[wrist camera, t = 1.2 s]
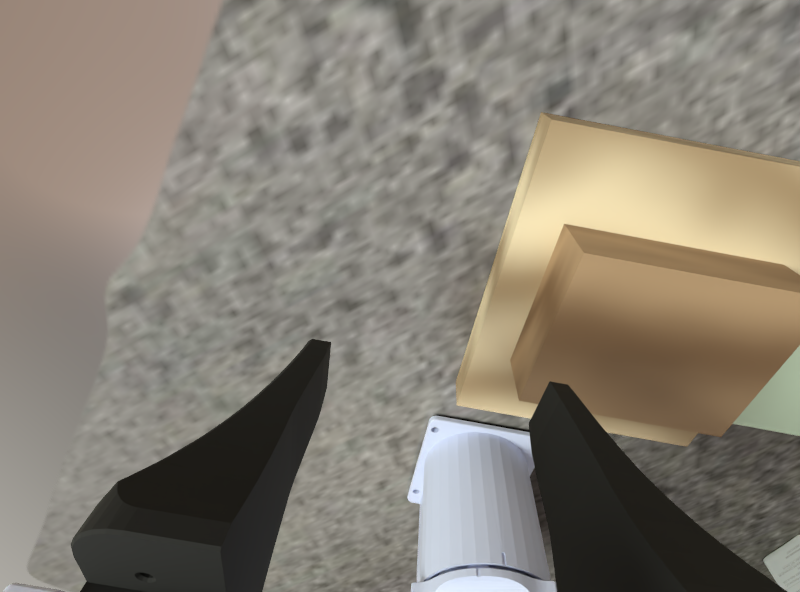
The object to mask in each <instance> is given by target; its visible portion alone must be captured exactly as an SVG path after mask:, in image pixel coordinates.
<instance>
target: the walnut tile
mask: <svg viewBox="0 0 800 592" xmlns="http://www.w3.org/2000/svg"><path fill="white" fill-rule="evenodd" d="M799 345H800V275H799V274H797V273H796V272H794V271H793V270H791V269H790V268H788V267H787V266H785V265H783V264H778V263H772V262H767V261H762V260H756V259H751V258H745V257H740V256H735V255H729V254H724V253H719V252H713V251H708V250H703V249H697V248H692V247H687V246H681V245H676V244H670V243H665V242H660V241H654V240H649V239H644V238H638V237H633V236H628V235H622V234H617V233H611V232H606V231H601V230H595V229H590V228H585V227H579V226H574V225H569V224H564V225H563V228H562V230H561V233H560V235H559V238H558V240H557V243H556V246H555V248H554V251H553V253H552V256H551V258H550V261H549V263H548V266H547V268H546V271H545V273H544V276H543V278H542V281H541V283H540V286H539V289H538V291H537V294H536V296H535V299H534V301H533V304H532V306H531V309H530V311H529V314H528V316H527V319H526V321H525V324H524V326H523V329H522V331H521V334H520V337H519V339H518V342H517V344H516V347H515V349H514V352H513V354H512V357H511V359H510V362H511V367H512V371H513V376H514V380H515V385H516V390H517V394H518V399H519V401H523V402H529V403H534V404H539V402H540V400H541V398H542V396H543V394H544V392H545V390H546V388H547V386H548V384H549V382H550V381H551V382H556V383H562V384H568V385H569V386H570V388H571V389H572V390H573V391H574V392H575V394H576V395H577V396H578V397H579V399H580V400H581V401H582V402H583V404H584V405H585V406H586V407H587V409H588V410H589V411H590V413H591V414H595V415H601V416H606V417H612V418H618V419H623V420H629V421H634V422H640V423H645V424H651V425H656V426H662V427H667V428H673V429H678V430H684V431H690V432H695V433H701V434H706V435H712V436H717V437H722V435H723V434H724V433H725V432H726V431H727V430H728V428H729V427H730V426H731V425H732V424H733V423H734V421H735V420H736V419H737V418H738V417H739V416H740V414H741V413H742V412H743V411H744V410H745V408H746V407H747V406H748V405H749V404H750V403H751V401H752V400H753V399H754V398H755V397H756V396H757V394H758V393H759V392H760V391H761V390H762V389H763V387H764V386H765V385H766V384H767V383H768V382H769V380H770V379H771V378H772V377H773V376H774V375H775V373H776V372H777V371H778V370H779V369H780V368H781V366H782V365H783V364H784V363H785V362H786V361H787V359H788V358H789V357H790V356H791V355H792V354H793V352H794V351H795V350H796V349H797V348H798V347H799Z"/></svg>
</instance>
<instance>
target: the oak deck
mask: <svg viewBox="0 0 800 592" xmlns="http://www.w3.org/2000/svg"><path fill="white" fill-rule="evenodd" d="M564 224H569V225H574V226H579V227H585V228H590V229H595V230H601V231H606V232H611V233H617V234H622V235H628V236H633V237H638V238H644V239H649V240H654V241H660V242H665V243H670V244H676V245H681V246H687V247H692V248H697V249H703V250H708V251H713V252H719V253H724V254H729V255H735V256H740V257H745V258H751V259H756V260H762V261H767V262H772V263H778V264H783V265H785V266H787V267H788V268H790V269H791V270H793V271H794V272H796V273H797V274H799V275H800V161H795V160H790V159H785V158H779V157H774V156H769V155H764V154H758V153H753V152H748V151H742V150H737V149H732V148H727V147H721V146H716V145H711V144H706V143H700V142H695V141H690V140H685V139H679V138H674V137H669V136H664V135H658V134H653V133H648V132H642V131H637V130H632V129H627V128H621V127H616V126H611V125H606V124H600V123H595V122H590V121H585V120H579V119H574V118H569V117H564V116H558V115H553V114H548V113H542V112H541V114H540V118H539V121H538V124H537V127H536V130H535V133H534V137H533V140H532V143H531V146H530V149H529V152H528V155H527V159H526V162H525V165H524V168H523V171H522V174H521V178H520V181H519V184H518V187H517V190H516V193H515V197H514V200H513V203H512V206H511V209H510V212H509V215H508V219H507V222H506V225H505V228H504V231H503V234H502V238H501V241H500V244H499V247H498V250H497V253H496V257H495V260H494V263H493V266H492V269H491V272H490V276H489V279H488V282H487V285H486V288H485V291H484V294H483V298H482V301H481V304H480V307H479V310H478V313H477V317H476V320H475V323H474V326H473V329H472V332H471V336H470V339H469V342H468V345H467V348H466V351H465V354H464V358H463V361H462V364H461V367H460V370H459V373H458V377H457V380H456V397H457V405H458V406H464V407H470V408H475V409H481V410H486V411H492V412H497V413H503V414H508V415H514V416H520V417H525V418H532V416H533V414H534V412H535V410H536V408H537V406H538V404H534V403H529V402H523V401H519V399H518V394H517V390H516V385H515V380H514V376H513V371H512V367H511V362H510V359H511V357H512V354H513V352H514V349H515V347H516V344H517V342H518V339H519V337H520V334H521V331H522V329H523V326H524V324H525V321H526V319H527V316H528V314H529V311H530V309H531V306H532V304H533V301H534V299H535V296H536V294H537V291H538V289H539V286H540V283H541V281H542V278H543V276H544V273H545V271H546V268H547V266H548V263H549V261H550V258H551V256H552V253H553V251H554V248H555V246H556V243H557V240H558V238H559V235H560V233H561V230H562V228H563V225H564ZM592 415H593V416H594V418H595V419H596V420H597V421H598V423H599V424H600V425H601V426H602V428H603V429H604V430H605V431H606V432H608V433H614V434H620V435H625V436H631V437H636V438H642V439H647V440H653V441H658V442H664V443H670V444H675V445H681V446H686V447H687V446H688V445H689V444H690V442H691V441H692V440H693V439H694V437H695V436H696V435H697V434H698V433H695V432H690V431H684V430H678V429H673V428H667V427H662V426H656V425H651V424H645V423H640V422H634V421H629V420H623V419H618V418H612V417H606V416H601V415H595V414H592Z"/></svg>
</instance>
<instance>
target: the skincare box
mask: <svg viewBox="0 0 800 592" xmlns="http://www.w3.org/2000/svg"><path fill="white" fill-rule="evenodd" d="M763 561H764V563H765V565H766V566H767V568H768V570H769V571H770V573H771V575H772V576H773V578H774V579H775V581H776V583H777V584H778V585H779V586H780V587H782V588H783V589H784V590H786V591H787V592H800V534H799V535H797V536H795V537H794V538H793V539H791V540H790V541H789V542H787V543H786V544H784V545H783V546H781V547H780V548H778V549H777V550H775V551H774V552H772V553H770V554H769V555H767V556H766V557H765V558H764V559H763Z"/></svg>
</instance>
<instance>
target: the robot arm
mask: <svg viewBox="0 0 800 592" xmlns="http://www.w3.org/2000/svg"><path fill="white" fill-rule="evenodd" d="M330 348H331V342H327V341H321V340H315V339H312V340H310V341H308V343H307V344H306V345H305V347H304V348H303V349H302V350H301V351H300V353H299V354H298V355H297V356H296V357H295V358H294V359H293V360H292V362H291V363H290V364H289V365H288V366H287V367H286V368H285V369H284V370H283V371H282V372H281V373H280V374H279V375H278V376H277V377H276V378H275V379H274V380H273V381H272V382H271V383H270V384H269V385H268V386H267V387H265V388H264V389H263V390H262V391H261V392H260V393H259V394H258V395H257V396H255V397H254V398H253V399H252V400H251V401H250V402H248V403H247V404H246V405H245V406H244V407H242V408H241V409H240V410H239V411H237V412H236V413H235V414H233V415H232V416H231V417H229V418H228V419H227V420H225V421H224V422H222V423H221V424H219V425H218V426H217V427H215V428H214V429H212V430H211V431H209V432H208V433H206V434H205V435H203V436H202V437H200V438H199V439H197V440H195V441H194V442H192V443H190V444H189V445H187V446H185V447H183V448H182V449H180V450H178V451H177V452H175V453H173V454H171V455H170V456H168V457H166V458H164V459H163V460H161V461H159V462H157V463H155V464H153V465H151V466H149V467H147V468H145V469H143V470H141V471H139V472H137V473H135V474H133V475H131V476H129V477H127V478H124V479H122V480H120V481H118V482H117V483H116V484H115V485H114V486H113V487H112V489H111V490H110V491H109V492H108V493H107V494H106V495H105V496H104V497H103V499H102V500H101V501H100V502H99V503H98V505H97V506H96V507H95V509H94V510H93V511H92V513H91V514H90V516H89V517H88V518H87V520H86V521H85V522H84V524H83V525H82V527H81V528H80V529H79V531H78V532H77V534H76V535H75V536H74V538H73V540H72V543H71V548H72V552H73V555H74V558H75V560H76V562H77V563H78V565H79V567H80V569H81V571H82V573H83V575H84V577H85V578H86V580H87V582H86V583H85V585H84V587H83V588H82V590H81V591H80V592H262V590H263V586H264V582H265V579H266V575H267V571H268V568H269V564H270V560H271V557H272V553H273V549H274V546H275V542H276V539H277V535H278V532H279V528H280V525H281V521H282V518H283V514H284V511H285V507H286V504H287V500H288V497H289V493H290V490H291V487H292V485H293V482H294V479H295V476H296V474H297V471H298V469H299V466H300V463H301V461H302V458H303V456H304V453H305V451H306V448H307V446H308V443H309V441H310V438H311V436H312V433H313V430H314V428H315V425H316V423H317V420H318V418H319V415H320V411H321V407H322V404H323V400H324V396H325V392H326V389H327V380H328V369H329V358H330ZM434 427H436V428H434ZM529 431H530V432H525V431H520V430H514V429H509V428H503V427H498V426H492V425H486V424H481V423H475V422H470V421H464V420H459V419H453V418H447V417H442V416H432V417H431V418H430V419H429V423H428V426H427V429H426V433H425V436H424V440H423V443H422V447H421V450H420V454H419V457H418V461H417V464H416V467H415V471H414V474H413V478H412V481H411V485H410V488H409V492H408V500H409V501H410V502H413V503H418V504H420V515H419V537H418V559H417V582H414V583H412V584H411V592H787V591H786V590H784V589H783V588H782V587H780V586H779V585H777V584H776V583H774V582H773V581H772V580H770V579H769V578H767V577H766V576H764V575H763V574H762V573H760V572H759V571H757V570H756V569H754V568H753V567H752V566H750V565H749V564H747V563H746V562H745V561H743V560H742V559H741V558H739V557H738V556H737V555H735V554H734V553H733V552H732V551H730V550H729V549H728V548H726V547H725V546H724V545H722V544H721V543H720V542H719V541H717V540H716V539H715V538H714V537H712V536H711V535H710V534H709V533H707V532H706V531H705V530H704V529H702V528H701V527H700V526H699V525H698V524H697V523H695V522H694V521H693V520H692V519H691V518H690V517H689V516H687V515H686V514H685V513H684V512H683V511H682V510H680V509H679V508H678V507H677V506H676V505H675V504H674V503H673V502H672V501H671V500H669V499H668V498H667V497H666V496H665V495H664V494H663V493H662V492H661V491H660V490H659V489H658V488H657V487H656V486H655V485H654V484H653V483H652V482H651V481H650V480H649V479H648V478H647V477H646V476H645V475H644V474H643V473H642V472H641V471H640V470H639V469H638V468H637V467H636V466H635V464H634V463H633V462H632V461H631V460H630V459H629V458H628V457H627V456H626V455H625V453H624V452H623V451H622V450H621V449H620V448H619V447H618V445H617V444H616V443H615V442H614V441H613V440H612V438H611V437H610V436H609V435H608V434H607V432H606V431H605V430H604V429H603V428H602V426H601V425H600V424H599V423H598V421H597V420H596V419H595V418H594V416H593V415H592V414H591V413H590V411H589V410H588V409H587V407H586V406H585V405H584V404H583V402H582V401H581V400H580V399H579V397H578V396H577V395H576V394H575V392H574V391H573V390H572V389H571V388H570V386H569V385H568V384H562V383H556V382H551V381H550V382H549V384H548V386H547V388H546V390H545V392H544V394H543V396H542V398H541V400H540V402H539V404H538V406H537V408H536V410H535V412H534V414H533V416H532V418H531V420H530V422H529ZM534 467H535V470H536V475H537V479H538V483H539V488H540V492H541V496H542V500H543V504H544V509H545V513H546V517H547V522H548V527H549V532H550V538H551V545H552V553H553V561H554V568H555V578H556V582H555V581H551V578H550V573H549V568H548V563H547V559H546V554H545V549H544V544H543V539H542V534H541V529H540V524H539V519H538V514H537V510H536V505H535V500H534V495H533V490H532V485H531V480H530V475H531V473H532V471H533V469H534ZM3 592H64V591H61V590H56V589H50V588H43V587H38V586H31V585H25V584H19V583H12V584H10V585H8V586H7V587H6V588H5V590H4V591H3Z"/></svg>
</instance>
